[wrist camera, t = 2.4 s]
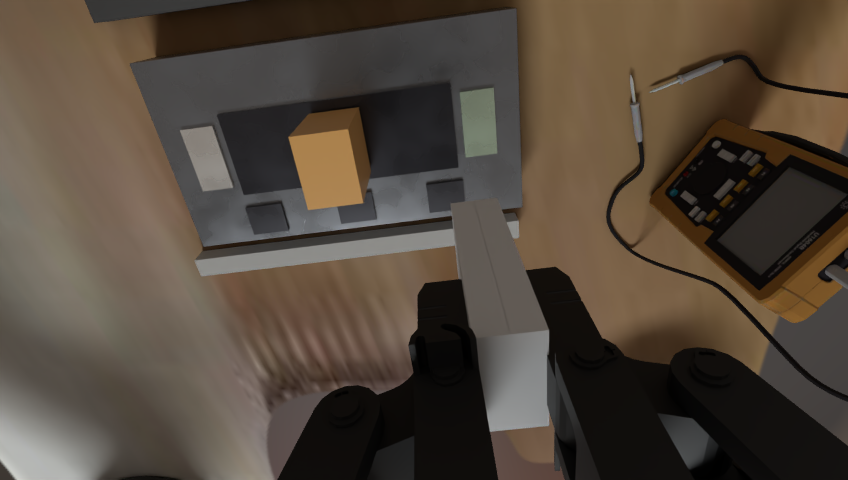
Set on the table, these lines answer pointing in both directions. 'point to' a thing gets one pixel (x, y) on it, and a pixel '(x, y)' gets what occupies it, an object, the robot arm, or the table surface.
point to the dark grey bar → (144, 7)
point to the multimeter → (760, 212)
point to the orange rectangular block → (331, 158)
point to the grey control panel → (334, 90)
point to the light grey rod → (333, 247)
